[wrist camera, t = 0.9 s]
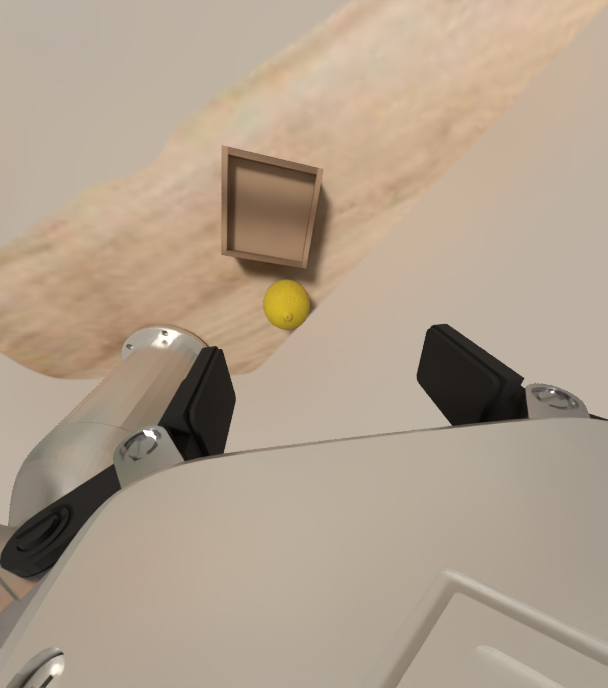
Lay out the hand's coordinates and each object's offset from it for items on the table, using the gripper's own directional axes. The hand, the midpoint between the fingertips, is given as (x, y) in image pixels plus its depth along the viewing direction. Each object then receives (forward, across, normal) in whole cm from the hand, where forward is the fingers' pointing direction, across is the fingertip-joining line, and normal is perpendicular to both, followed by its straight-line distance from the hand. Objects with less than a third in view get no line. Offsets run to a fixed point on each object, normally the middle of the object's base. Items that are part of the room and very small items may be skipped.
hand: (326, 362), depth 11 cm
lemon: (+22, +2, +4) cm, 22 cm away
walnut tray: (+22, +3, -6) cm, 23 cm away
